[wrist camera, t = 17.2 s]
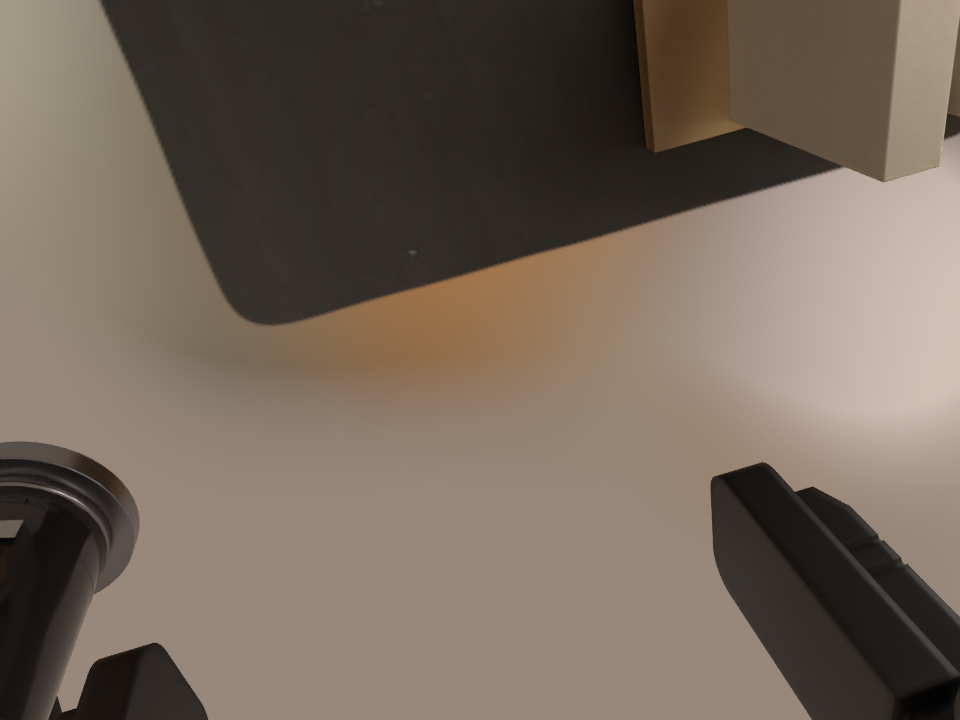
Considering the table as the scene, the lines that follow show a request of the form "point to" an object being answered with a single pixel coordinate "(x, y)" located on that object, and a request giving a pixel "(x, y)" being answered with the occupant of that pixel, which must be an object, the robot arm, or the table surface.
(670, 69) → the cream book rack
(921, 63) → the cream book
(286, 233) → the table surface
